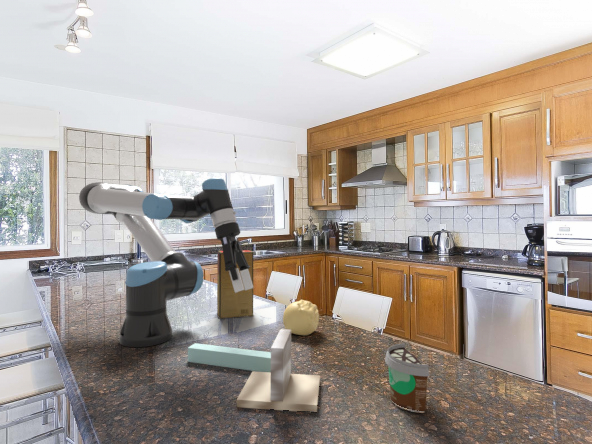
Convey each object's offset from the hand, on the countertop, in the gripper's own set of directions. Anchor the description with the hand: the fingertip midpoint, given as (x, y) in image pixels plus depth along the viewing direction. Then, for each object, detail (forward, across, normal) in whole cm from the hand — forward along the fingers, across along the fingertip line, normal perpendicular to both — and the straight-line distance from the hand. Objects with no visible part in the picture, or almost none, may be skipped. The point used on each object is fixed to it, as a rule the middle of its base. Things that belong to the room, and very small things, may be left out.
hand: (244, 290), depth 107 cm
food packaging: (+7, +31, +14) cm, 35 cm away
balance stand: (+24, -28, -8) cm, 38 cm away
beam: (+18, -15, +5) cm, 24 cm away
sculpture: (+19, +12, -11) cm, 25 cm away
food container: (+33, -29, -31) cm, 54 cm away
